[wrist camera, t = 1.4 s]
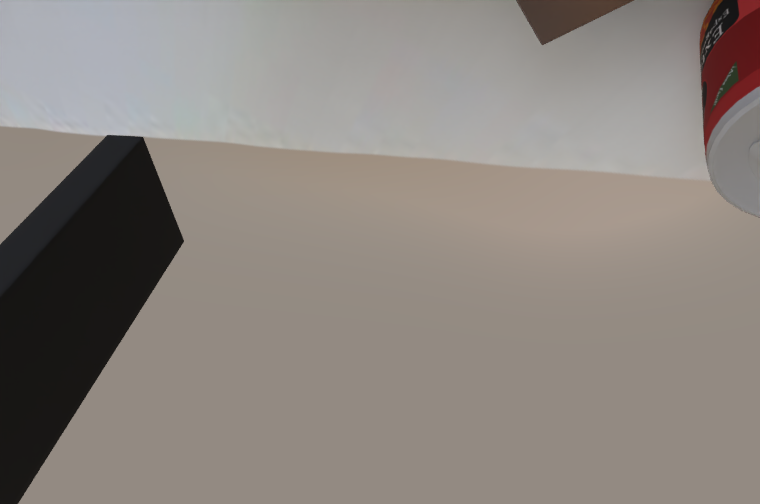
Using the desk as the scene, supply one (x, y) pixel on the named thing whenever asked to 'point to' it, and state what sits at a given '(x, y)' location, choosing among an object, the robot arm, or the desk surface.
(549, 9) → the step shelf
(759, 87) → the canned food
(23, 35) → the desk surface
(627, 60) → the desk surface
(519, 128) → the desk surface
